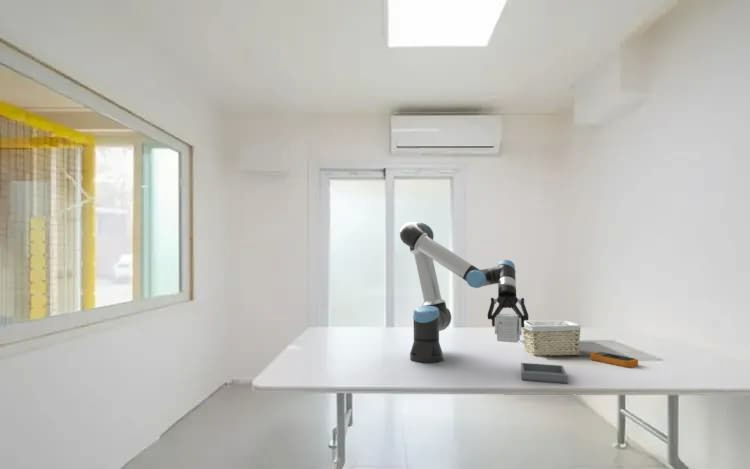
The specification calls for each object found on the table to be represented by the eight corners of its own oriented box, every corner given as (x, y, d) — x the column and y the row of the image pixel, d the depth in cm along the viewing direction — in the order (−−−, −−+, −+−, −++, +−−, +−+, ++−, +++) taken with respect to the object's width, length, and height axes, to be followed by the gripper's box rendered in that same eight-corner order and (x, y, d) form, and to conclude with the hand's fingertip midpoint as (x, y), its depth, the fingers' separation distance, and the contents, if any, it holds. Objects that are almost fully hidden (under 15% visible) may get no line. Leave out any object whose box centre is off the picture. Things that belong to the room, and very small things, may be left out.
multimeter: (629, 369, 181) (629, 361, 181) (589, 360, 196) (589, 352, 197) (640, 366, 185) (640, 358, 186) (600, 358, 201) (600, 350, 201)
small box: (520, 340, 176) (519, 314, 177) (517, 342, 171) (516, 316, 172) (500, 338, 180) (499, 313, 181) (496, 341, 175) (496, 315, 176)
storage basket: (531, 356, 203) (531, 325, 203) (520, 349, 219) (520, 319, 220) (582, 356, 203) (582, 325, 203) (567, 349, 219) (567, 319, 219)
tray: (521, 380, 165) (521, 372, 165) (521, 370, 179) (520, 362, 179) (567, 383, 160) (567, 375, 160) (562, 373, 174) (562, 365, 174)
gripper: (533, 295, 188) (536, 339, 172) (482, 295, 194) (481, 337, 178) (533, 284, 183) (536, 328, 167) (481, 283, 190) (479, 326, 174)
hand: (508, 332), depth 173 cm, fingers closed on small box, 9 cm apart
